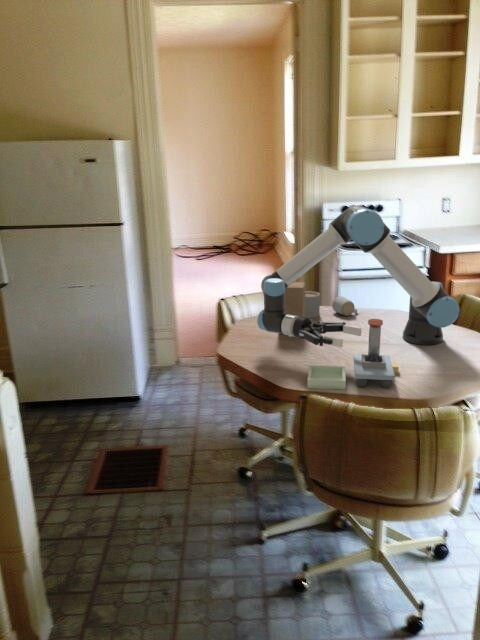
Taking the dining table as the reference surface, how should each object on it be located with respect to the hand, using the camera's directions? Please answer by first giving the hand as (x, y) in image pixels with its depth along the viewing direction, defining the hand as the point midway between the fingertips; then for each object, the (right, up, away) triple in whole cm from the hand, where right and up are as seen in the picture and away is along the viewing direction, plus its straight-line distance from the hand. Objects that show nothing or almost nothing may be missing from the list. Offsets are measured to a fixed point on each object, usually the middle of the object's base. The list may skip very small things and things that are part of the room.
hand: (351, 337), depth 188 cm
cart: (+8, -14, -1) cm, 16 cm away
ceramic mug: (+11, +8, +71) cm, 72 cm away
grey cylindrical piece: (-5, +8, +71) cm, 72 cm away
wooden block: (-16, +1, +49) cm, 51 cm away
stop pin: (+7, -9, -2) cm, 11 cm away
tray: (-9, -14, -2) cm, 17 cm away
